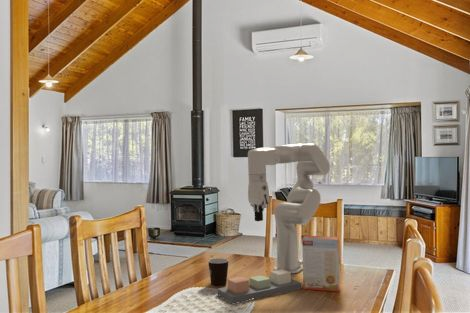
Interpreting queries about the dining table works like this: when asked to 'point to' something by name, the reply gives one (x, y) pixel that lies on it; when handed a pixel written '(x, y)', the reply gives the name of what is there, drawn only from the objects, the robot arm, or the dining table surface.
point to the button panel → (258, 291)
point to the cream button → (280, 276)
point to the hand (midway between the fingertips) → (258, 220)
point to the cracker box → (321, 263)
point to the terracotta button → (238, 285)
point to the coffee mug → (218, 271)
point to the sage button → (260, 282)
